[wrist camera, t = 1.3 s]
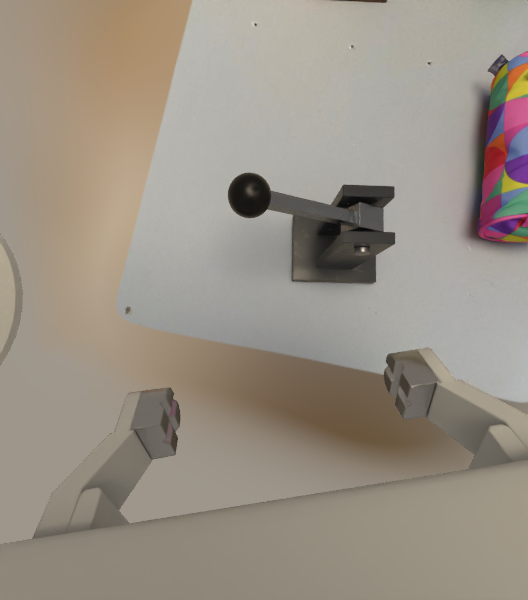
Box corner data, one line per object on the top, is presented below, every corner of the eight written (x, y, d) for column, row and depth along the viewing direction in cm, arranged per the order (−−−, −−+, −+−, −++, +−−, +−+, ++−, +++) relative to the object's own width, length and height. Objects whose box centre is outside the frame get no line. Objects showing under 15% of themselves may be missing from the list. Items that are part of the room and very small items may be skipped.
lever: (221, 219, 24) (236, 205, 21) (222, 179, 24) (238, 159, 21) (360, 244, 30) (387, 236, 27) (360, 212, 30) (387, 200, 28)
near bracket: (291, 281, 39) (309, 259, 26) (292, 217, 39) (310, 166, 27) (372, 283, 39) (428, 262, 26) (372, 220, 40) (427, 170, 27)
